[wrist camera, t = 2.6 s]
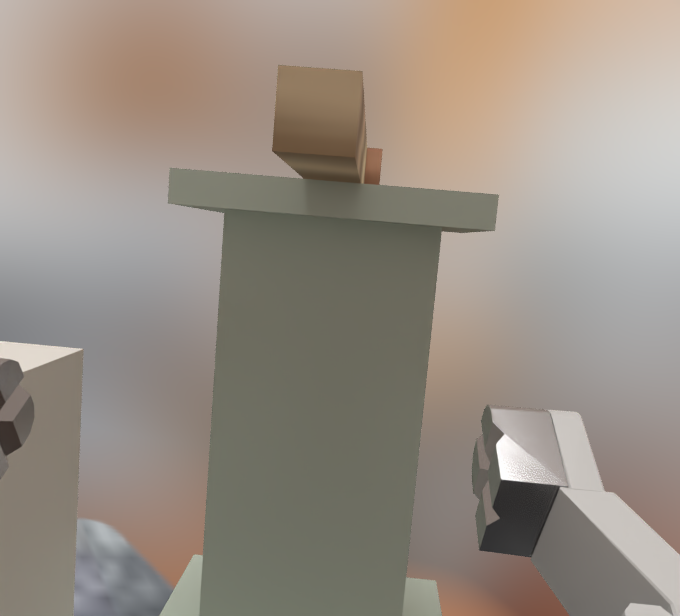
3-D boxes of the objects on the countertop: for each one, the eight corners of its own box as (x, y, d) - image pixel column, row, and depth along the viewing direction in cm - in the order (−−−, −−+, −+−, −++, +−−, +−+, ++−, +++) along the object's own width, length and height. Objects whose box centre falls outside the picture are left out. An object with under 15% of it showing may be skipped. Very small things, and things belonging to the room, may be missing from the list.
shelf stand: (463, 799, 27) (535, 193, 24) (101, 755, 28) (128, 160, 25) (432, 609, 41) (475, 209, 38) (192, 582, 42) (216, 188, 39)
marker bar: (382, 159, 18) (390, 73, 18) (244, 148, 18) (250, 63, 18) (377, 201, 38) (381, 160, 38) (312, 195, 38) (314, 155, 38)
